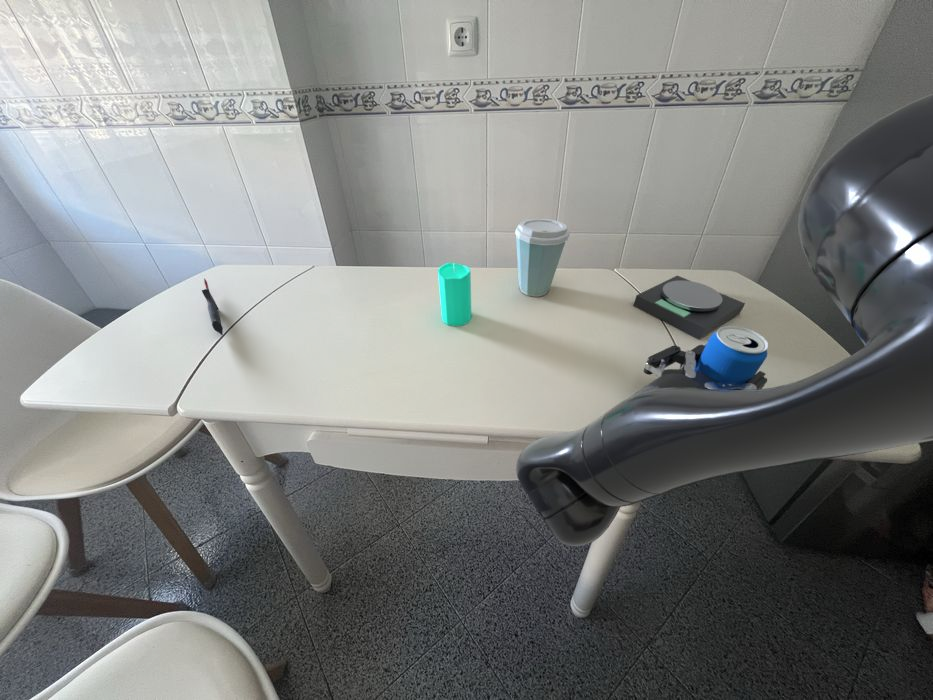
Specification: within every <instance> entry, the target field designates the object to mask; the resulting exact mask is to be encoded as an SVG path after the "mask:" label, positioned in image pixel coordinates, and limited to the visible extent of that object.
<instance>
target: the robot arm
mask: <svg viewBox="0 0 933 700" xmlns="http://www.w3.org/2000/svg"><path fill="white" fill-rule="evenodd" d="M797 216H798V217H797V232H798V238H799V243H800V246H801V249H802V252H803V255H804V258H805V260H806V263H807V266H808V267H809V268H810V270H811V272H812V273H813V274H814V276H815V278H816V279H817V281H818V282H819V284H820V285H821V286H822V287H823V288H824V290H825V291H826V293H827V294H828V296H830V298H831V299H832V300H833V302H834V304H835V305H836V306H837V307H838V309H839V310H840V312H841V313H842V314H843V316H844V317H845V318H846V320H847V321H848V322H849V323H850V325H851V327H852V328H853V329H854V331H855V333H856V334H857V336H858V338H859V339H860V340H861V342H862V343H863V345H864V347H862V348H861V349H858V351H856V352H855V353H853V354H852V355H850V356H847V357H846V358H843V360H841V361H839V362H837V363H835V364H833V365H831V366H829V367H827V368H825V369H822V370H820V371H818V372H816V373H814V374H812V375H810V376H807V377H804V378H802V379H799V380H796V381H793V382H790V383H787V384H783V385H779V386H773V387H767V388H764V386H765V385H766V384H767V382H768V378H767V377H765V376H766V375H767V373H766V372H763V371H762V370H758V371H757V372H756V374H755V375H754V377H752V378H750V379H749V380H748V381H747V382H746V383H741V384H736V383H735V382H723V383H720V382H719V381H717V380H715V379H712V378H710V377H708V376H707V375H706V374H704V373H703V372H701V371H699V370H697V371H696V364H697V362H698V360H699V358H700V356H701V354H702V352H703V350H704V348H705V346H706V344H698V345H697V346H694V348H692V349H691V350H689V349H688V350H686V351H684V350H682V349H681V347H680V346H678V345H671V346H669V347H667V348H665V349H662V350H661V351H658V352H656V353H653V354H652V355H650V356H648V358H647V360H646V361H645V362H646V363H645V365H644V368H643V371H642V372H643V373H644V374H645V375H649V376H650V375H654V376H656V377H657V378H656V379H654V380H653V381H651V382H650V383H648V384H647V385H645V386H644V387H642V388H641V389H639V390H638V391H636V392H635V393H634V394H632V395H630V396H629V397H628V398H626V399H624V400H622V401H621V402H619V403H618V404H616V405H615V406H613V407H612V408H610V409H609V410H608V411H606V412H604V413H603V414H602V415H600V416H599V417H598V418H596V419H594V420H593V421H592V422H590V423H589V424H587V425H586V426H583V427H582V428H580V429H577V430H573V431H568V432H561V433H555V434H551V435H548V436H544V437H541V438H539V439H536V440H534V441H532V442H531V443H529V444H528V445H527V446H526V447H524V448H523V449H522V451H521V452H520V454H519V455H518V457H517V460H516V464H515V473H516V477H517V479H518V482H519V484H520V486H521V487H522V490H524V492H525V493H526V494H527V496H528V498H529V499H530V501H531V503H532V504H533V506H534V507H535V509H536V511H537V512H538V514H539V515H540V517H541V519H542V520H543V522H544V524H545V525H546V527H547V528H548V530H549V531H550V532H551V535H552V536H553V537H554V538H555V539H556V540H557V541H558V542H559V543H561V544H562V545H565V546H569V547H582V546H583V547H584V546H587V545H590V544H591V543H594V542H595V541H596V540H598V539H599V538H600V537H601V536H603V535H604V534H605V532H606V531H607V530H608V529H609V527H610V526H611V525H612V522H614V520H615V518H616V517H617V515H618V513H619V511H620V509H621V508H622V507H629V506H632V505H635V504H637V503H641V502H643V501H647V500H650V499H652V498H655V497H658V496H661V495H665V494H667V493H669V492H673V491H675V490H679V489H682V488H684V487H687V486H690V485H693V484H698V483H701V482H704V481H709V480H713V479H717V478H721V477H726V476H732V475H736V474H743V473H749V472H754V471H760V470H766V469H771V468H772V469H773V468H779V467H784V466H792V465H798V464H804V463H811V462H817V461H823V460H828V459H830V460H831V459H836V458H841V457H848V456H854V455H860V454H866V453H871V452H877V451H883V450H888V449H893V448H898V447H904V446H909V445H915V444H920V443H926V442H932V441H933V93H931V94H928V95H925V96H923V97H920V98H917V99H916V100H912V101H911V102H910V101H909V102H908V103H907V104H905V105H903V106H901V107H900V108H897V109H896V110H894V111H891V112H890V113H887V114H886V115H885V116H882V117H881V118H878V119H876V120H875V121H873V122H872V123H871V124H870V125H868V126H867V127H864V128H863V130H861V131H860V132H858V133H856V134H855V135H853V136H852V137H850V138H849V139H848V140H847V141H846V142H845V143H844V144H843V145H841V147H840V148H838V149H837V150H836V151H835V152H833V154H832V155H831V156H829V157H828V158H827V159H826V160H825V162H824V163H823V164H822V166H821V167H820V168H819V169H818V171H817V172H816V173H815V174H814V176H813V178H812V179H811V181H810V183H809V185H808V188H807V189H806V191H805V193H804V195H803V197H802V199H801V203H800V208H799V212H798V215H797ZM675 363H677V364H679V367H678V368H668V367H669V366H672V365H673V364H675ZM666 368H668V369H666Z"/></svg>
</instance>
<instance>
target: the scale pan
mask: <svg viewBox="0 0 933 700" xmlns="http://www.w3.org/2000/svg"><path fill="white" fill-rule="evenodd" d="M719 293H720V292H719ZM719 293H718V291H717V290H716V289H715V288H713V287H712V286H709V285H706V284H704V283H701V282H696V281H692V280H690V281H682V280H680V281H672V282H669V283H667V284H665V285H664V287H663V289H662V295H663V297H664V298H665V299H666V300H667V301H669V302H670V303H672V304H674V305H676V306H678V307H681V308H684V309H687V310H692V311H712V310H715V309H717V308H719V307H720V305H721V303H722V300H723V299H722V296H721V295H720V294H719Z"/></svg>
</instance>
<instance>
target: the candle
mask: <svg viewBox="0 0 933 700" xmlns="http://www.w3.org/2000/svg"><path fill="white" fill-rule="evenodd" d="M437 273H438V276H437V277H438V287H439V288H438V289H439V301H440V302H439V303H440V312H441V320H442V323H444V324H446V325H447V326H451V327H459V326H460V327H461V326H464V325H466V324H469V323H470V321H471V319H472V282H471V281H472V277H471V274H472V273H471V269H470V267H469V266H467V265H465V264H461V263H456V262H454V261H453V262H446V263H445V264H443V265H441V266H439V268H437Z"/></svg>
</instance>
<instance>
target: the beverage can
mask: <svg viewBox="0 0 933 700" xmlns="http://www.w3.org/2000/svg"><path fill="white" fill-rule="evenodd" d="M705 345H706V346H705ZM705 345H704V346H705V348H704V350H703V352H702V354H701V356H700V358H699V360H698V362H697V364H696V371H697V370H699V371H701V372H703V373H704V374H706V375H707V376H708V377H710V378H712V379H715V380H717V381H719V382H720V383H723V382H735V383H736V384H741V383H746V382H747V381H748V380H749V379H750V378H752V377H754V375H755V374H757V373H758V372H759V369H760V368H761V367H762V365H763V363H765V361H766V359H767V357H768V348H769V343H768V341H767V339H766V338H765V337H764V336H762V335H761V334H760V333H758V332H756V331H754V330H752V329H749V328H747V327H743V326H738V325H724V326H720V327H718V328H717V331H715V332H714V333H712V334H711V335H710V337H709V339H708V340H707V342H706V344H705Z"/></svg>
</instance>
